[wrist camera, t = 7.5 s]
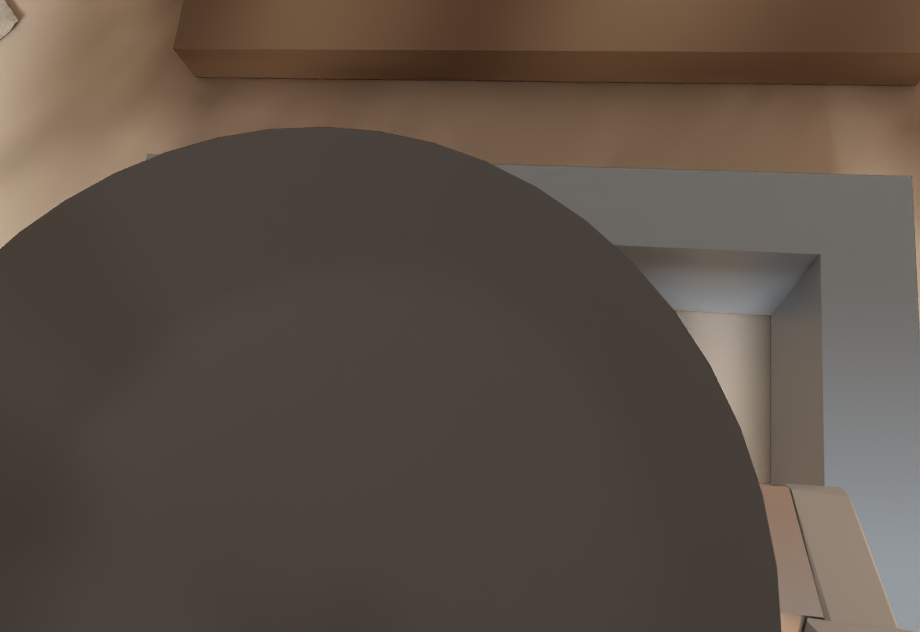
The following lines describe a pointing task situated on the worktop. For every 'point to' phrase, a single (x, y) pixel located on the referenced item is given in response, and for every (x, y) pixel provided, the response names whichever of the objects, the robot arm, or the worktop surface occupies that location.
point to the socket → (795, 317)
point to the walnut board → (556, 40)
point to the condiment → (6, 18)
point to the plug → (358, 408)
